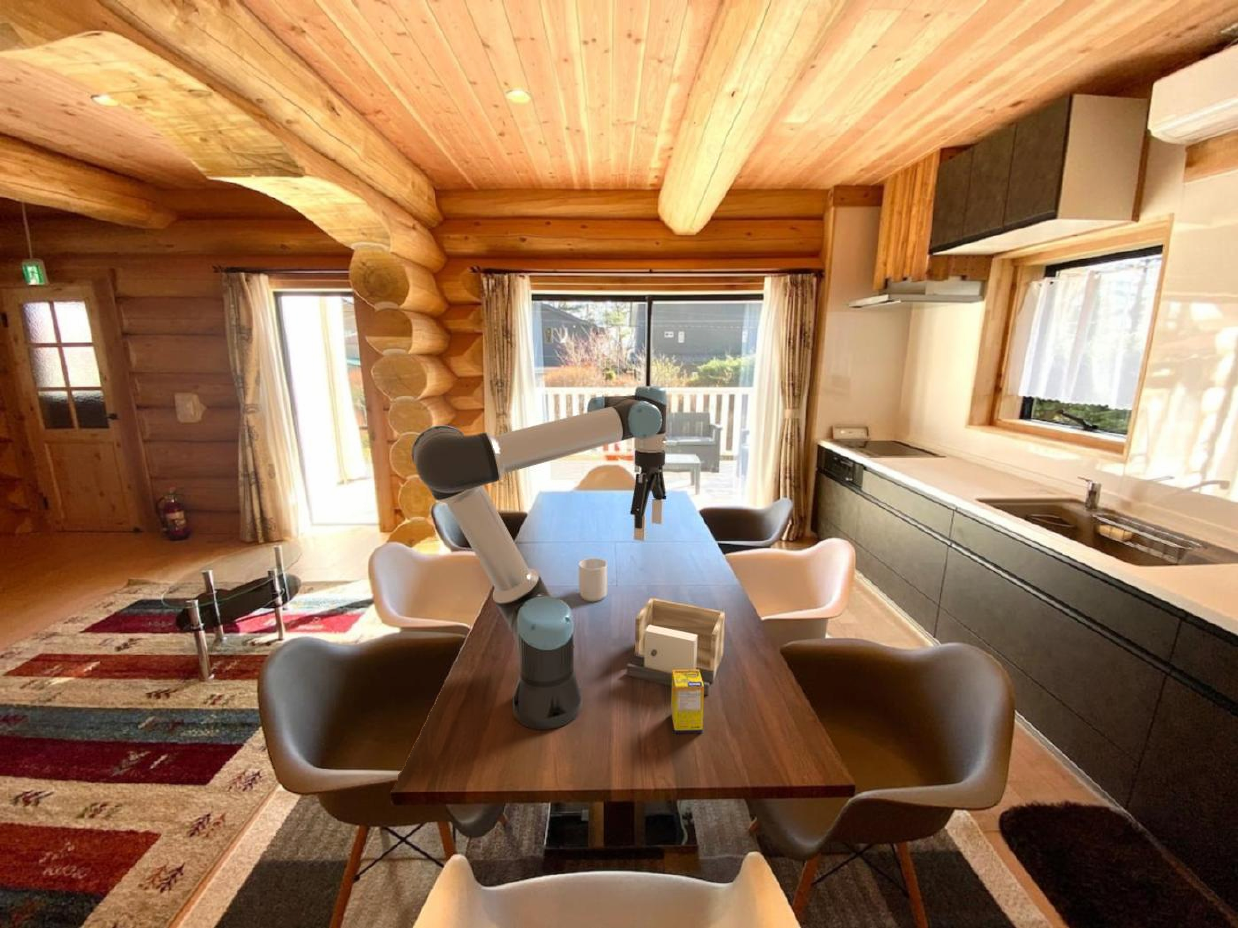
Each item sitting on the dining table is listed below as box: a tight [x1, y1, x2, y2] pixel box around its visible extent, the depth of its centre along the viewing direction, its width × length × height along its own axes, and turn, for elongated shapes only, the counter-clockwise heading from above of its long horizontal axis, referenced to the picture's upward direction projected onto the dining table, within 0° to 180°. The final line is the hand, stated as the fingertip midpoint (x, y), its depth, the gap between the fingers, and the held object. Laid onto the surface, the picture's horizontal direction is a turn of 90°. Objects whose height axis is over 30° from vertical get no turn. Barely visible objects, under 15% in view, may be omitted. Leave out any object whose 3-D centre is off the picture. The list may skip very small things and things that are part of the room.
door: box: [643, 625, 698, 674], centre depth 123 cm, size 4×12×12 cm, turn 68°
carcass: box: [626, 597, 727, 696], centre depth 128 cm, size 18×20×12 cm
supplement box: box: [670, 669, 705, 734], centre depth 108 cm, size 6×6×11 cm
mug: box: [578, 557, 608, 602], centre depth 166 cm, size 12×9×11 cm
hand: (648, 531), depth 132 cm, fingers open, 13 cm apart
